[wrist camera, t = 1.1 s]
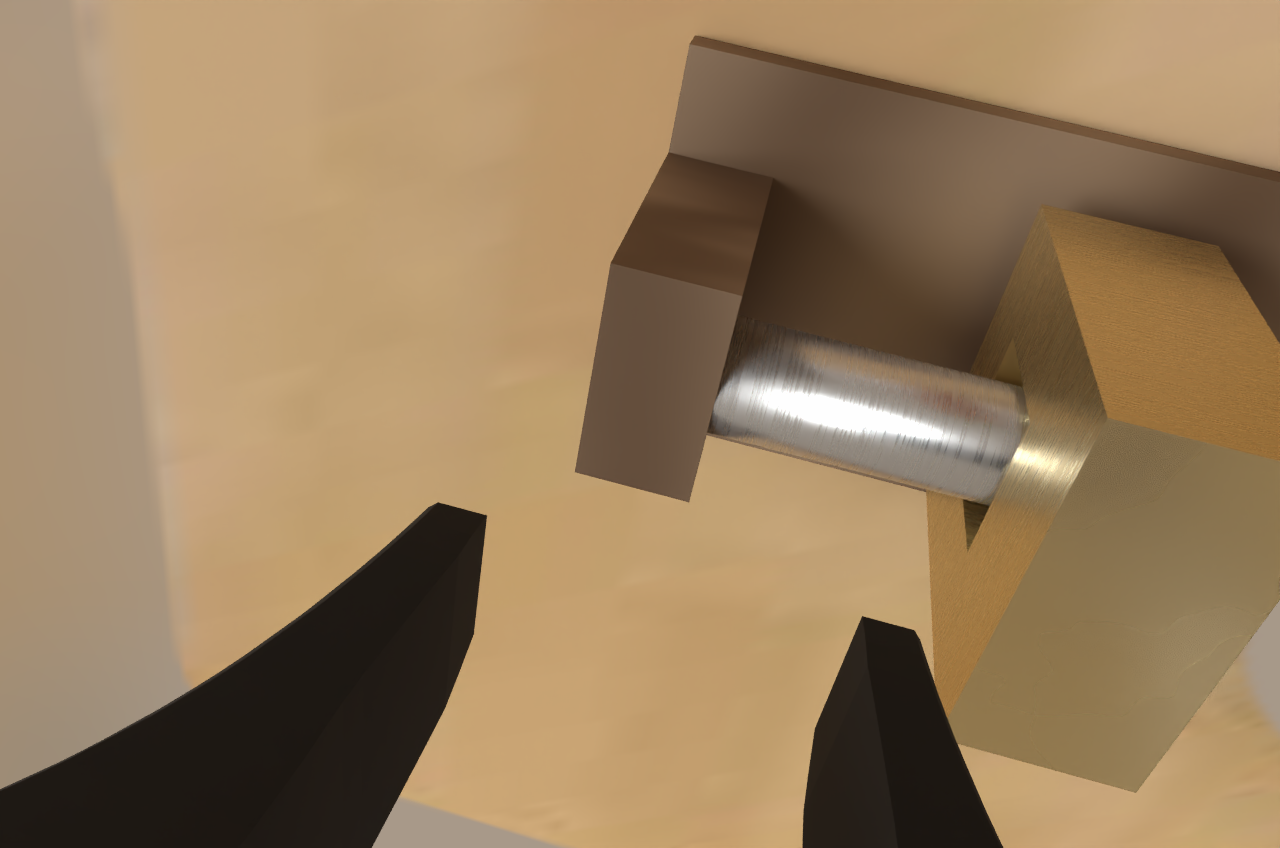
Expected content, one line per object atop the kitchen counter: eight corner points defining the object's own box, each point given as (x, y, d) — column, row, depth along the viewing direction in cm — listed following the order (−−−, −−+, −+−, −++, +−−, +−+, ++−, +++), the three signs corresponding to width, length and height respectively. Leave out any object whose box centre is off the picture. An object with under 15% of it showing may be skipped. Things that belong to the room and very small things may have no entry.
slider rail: (1730, 277, 18) (2017, 467, 13) (1440, 608, 22) (1578, 832, 18) (695, 35, 19) (632, 133, 14) (623, 397, 23) (560, 557, 19)
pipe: (1729, 532, 16) (1832, 630, 15) (1630, 628, 18) (1712, 729, 16) (629, 258, 18) (600, 318, 16) (610, 366, 19) (580, 433, 17)
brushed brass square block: (1218, 246, 17) (1367, 482, 12) (1072, 514, 21) (1136, 792, 15) (1041, 203, 18) (1107, 418, 12) (925, 476, 21) (937, 737, 16)
